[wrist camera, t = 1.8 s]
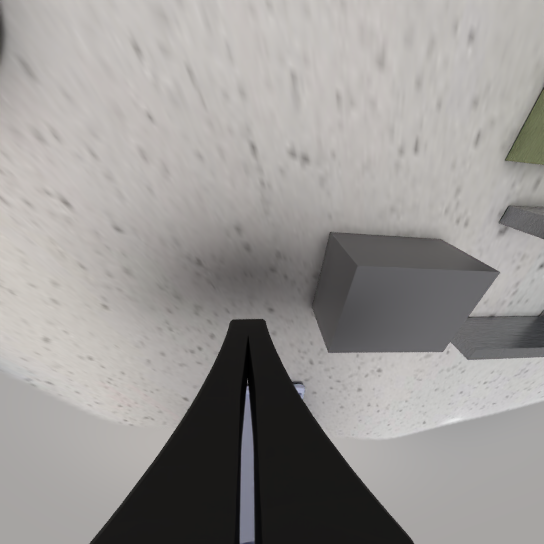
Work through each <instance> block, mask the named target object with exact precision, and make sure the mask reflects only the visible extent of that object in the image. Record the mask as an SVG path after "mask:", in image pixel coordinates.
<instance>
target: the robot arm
mask: <svg viewBox="0 0 544 544" xmlns="http://www.w3.org/2000/svg"><path fill="white" fill-rule="evenodd" d="M247 379H248V386H247ZM304 392H305V388H304V386H303V385H302V384H293V383H292V381H291V379H290V377H289V376H288V374H287V372H286V370H285V368H284V366H283V364H282V362H281V360H280V358H279V356H278V354H277V352H276V349H275V347H274V345H273V342H272V340H271V337H270V335H269V332H268V329H267V325H266V321H265V320H263V319H238V320H232V321H231V322H230V325H229V329H228V332H227V335H226V337H225V340H224V342H223V345H222V347H221V350H220V352H219V354H218V356H217V358H216V360H215V362H214V365H213V367H212V369H211V371H210V372H209V374H208V376H207V378H206V380H205V382H204V384H203V385H202V387H201V389H200V391H199V393H198V394H197V396H196V398H195V399H194V401H193V403H192V404H191V406H190V408H189V409H188V411H187V412H186V414H185V416H184V417H183V419H182V420H181V422H180V423H179V425H178V426H177V428H176V429H175V431H174V433H173V434H172V435H171V437H170V438H169V440H168V441H167V443H166V444H165V446H164V447H163V449H162V450H161V451H160V453H159V454H158V456H157V457H156V458H155V460H154V461H153V463H152V464H151V465H150V467H149V468H148V469H147V471H146V472H145V473H144V475H143V476H142V477H141V479H140V480H139V481H138V483H137V484H136V485H135V487H134V488H133V489H132V491H131V492H130V493H129V495H128V496H127V497H126V499H125V500H124V501H123V503H122V504H121V505H120V507H119V508H118V509H117V510H116V511H115V513H114V514H113V515H112V517H111V518H110V519H109V521H108V522H107V523H106V524H105V525H104V527H103V528H102V529H101V530H100V531H99V533H98V534H97V535H96V536H95V538H94V539H93V540H92V541H91V542H90V544H414V543H413V541H412V540H411V538H410V537H409V536H408V534H407V533H406V532H405V531H404V530H403V529H402V528H401V526H400V525H399V524H398V523H397V522H396V521H395V520H394V518H392V516H391V515H390V514H389V513H388V512H387V510H386V509H385V508H384V507H383V506H382V505H381V504H380V502H379V501H378V500H377V499H376V497H375V496H374V495H373V494H372V493H371V492H370V490H369V489H368V488H367V487H366V486H365V484H364V483H363V482H362V481H361V479H360V478H359V477H358V476H357V475H356V473H355V472H354V471H353V469H352V468H351V467H350V466H349V464H348V463H347V462H346V460H345V459H344V458H343V456H342V455H341V454H340V452H339V451H338V450H337V449H336V447H335V446H334V444H333V443H332V442H331V441H330V439H329V438H328V437H327V435H326V434H325V432H324V431H323V430H322V428H321V427H320V425H319V424H318V422H317V421H316V419H315V418H314V417H313V415H312V414H311V412H310V410H309V409H308V407H307V406H306V404H305V403H304V401H303V396H304Z"/></svg>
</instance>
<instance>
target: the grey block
mask: <svg viewBox="0 0 544 544" xmlns="http://www.w3.org/2000/svg"><path fill="white" fill-rule="evenodd" d="M499 273H500V272H499V271H497V270H495V269H494V268H492V267H490V266H488V265H486V264H485V263H483V262H481V261H479V260H477V259H476V258H474V257H472V256H470V255H468V254H467V253H465V252H463V251H461V250H460V249H458V248H456V247H454V246H452V245H451V244H449V243H447V242H445V241H443V240H442V239H428V238H413V237H397V236H381V235H366V234H350V233H334V232H330V236H329V240H328V244H327V248H326V252H325V256H324V260H323V264H322V268H321V272H320V277H319V281H318V285H317V289H316V293H315V297H314V301H313V305H312V309H313V312H314V314H315V317H316V320H317V323H318V326H319V328H320V331H321V334H322V337H323V339H324V342H325V345H326V348H327V350H328V353H349V352H443V351H444V350H445V348H446V347H447V345H448V344H449V343H450V341H451V340H452V338H453V337H454V336H455V334H456V333H457V332H458V330H459V329H460V327H461V326H462V325H463V323H464V322H465V320H466V319H467V318H468V316H469V315H470V313H471V312H472V311H473V309H474V308H475V307H476V305H477V304H478V302H479V301H480V300H481V298H482V297H483V295H484V294H485V293H486V291H487V290H488V288H489V287H490V286H491V284H492V283H493V282H494V280H495V279H496V277H497V276H498V275H499Z"/></svg>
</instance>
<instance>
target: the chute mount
mask: <svg viewBox="0 0 544 544" xmlns="http://www.w3.org/2000/svg"><path fill="white" fill-rule="evenodd" d="M506 161H515V162H524V163H533V164H542V165H544V89H543V91H542V93H541V95H540V97H539V98H538V100H537V102H536V104H535V106H534V108H533V110H532V112H531V113H530V115H529V117H528V119H527V121H526V123H525V125H524V127H523V128H522V130H521V132H520V134H519V136H518V138H517V140H516V142H515V143H514V145H513V147H512V149H511V151H510V153H509V155H508V156H507V158H506ZM499 223H501V224H503V225H506V226H509V227H512V228H514V229H517V230H520V231H523V232H525V233H528V234H531V235H534V236H536V237H539V238H542V239H544V207H520V206H509V207H508V209H507V211H506V212H505V214H504V216H503V217H502V219H501V221H500V222H499ZM450 342H451V343H452V344H453V345H454V346H455V347H456V348H457V349H458V350H459V351H460V352H461V353H462V354H463V355H464V356H465V357H466V358H467V360H477V359H503V358H529V357H544V311H543V313H542V314H541V315H540V316H526V317H468V318H467V319H466V320H465V322H464V323H463V325H462V326H461V327H460V329H459V330H458V332H457V333H456V334H455V336H454V337H453V338H452V340H451V341H450Z"/></svg>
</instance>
